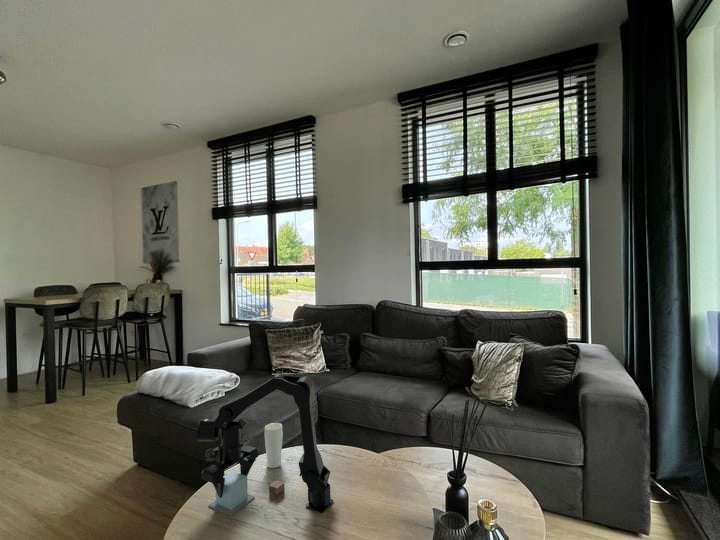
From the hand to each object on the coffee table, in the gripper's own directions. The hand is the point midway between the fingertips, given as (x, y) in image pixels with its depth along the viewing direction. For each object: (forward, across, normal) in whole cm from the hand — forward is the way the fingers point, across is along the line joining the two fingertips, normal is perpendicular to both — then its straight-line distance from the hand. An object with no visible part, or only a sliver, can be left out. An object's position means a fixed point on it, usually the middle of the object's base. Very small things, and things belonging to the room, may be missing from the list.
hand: (231, 489), depth 118 cm
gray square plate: (+4, 0, 0) cm, 4 cm away
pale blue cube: (+4, 0, 0) cm, 4 cm away
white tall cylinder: (+4, -24, -4) cm, 25 cm away
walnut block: (+4, -10, +10) cm, 15 cm away
